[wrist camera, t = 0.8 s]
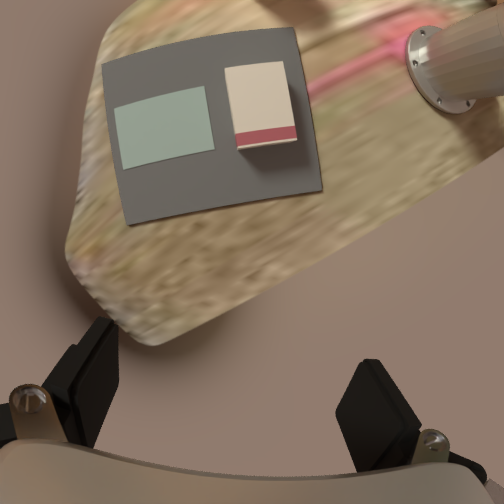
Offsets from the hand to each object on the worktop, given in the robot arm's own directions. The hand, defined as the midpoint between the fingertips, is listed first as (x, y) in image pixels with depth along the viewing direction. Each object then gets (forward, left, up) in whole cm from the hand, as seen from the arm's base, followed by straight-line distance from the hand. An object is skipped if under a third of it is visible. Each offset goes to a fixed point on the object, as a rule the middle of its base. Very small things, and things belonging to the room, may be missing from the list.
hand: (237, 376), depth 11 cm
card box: (-5, -13, -23) cm, 27 cm away
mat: (+1, -13, -24) cm, 27 cm away
